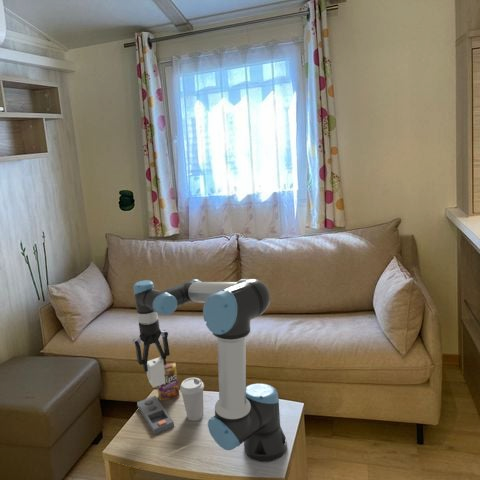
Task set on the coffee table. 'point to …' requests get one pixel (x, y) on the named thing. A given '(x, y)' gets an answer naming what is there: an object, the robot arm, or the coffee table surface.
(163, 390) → the candy box
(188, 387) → the coffee cup
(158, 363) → the block
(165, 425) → the power strip
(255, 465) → the coffee table surface
